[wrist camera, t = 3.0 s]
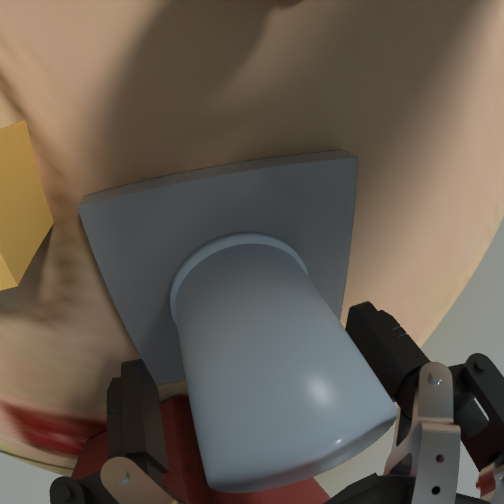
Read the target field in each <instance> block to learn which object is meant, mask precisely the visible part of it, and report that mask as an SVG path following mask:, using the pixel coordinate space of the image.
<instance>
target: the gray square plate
mask: <svg viewBox="0 0 504 504" xmlns="http://www.w3.org/2000/svg"><path fill="white" fill-rule="evenodd" d="M356 176H357V157H356V156H354V155H351V154H349V153H347V152H345V151H343V150H340V151H328V152H317V153H308V154H299V155H290V156H282V157H274V158H266V159H259V160H252V161H245V162H239V163H233V164H227V165H221V166H215V167H209V168H204V169H198V170H193V171H188V172H183V173H178V174H173V175H168V176H163V177H159V178H154V179H150V180H145V181H141V182H136V183H132V184H128V185H124V186H120V187H116V188H112V189H108V190H104V191H101V192H97V193H93V194H89V195H86V196H84V197H83V199H82V201H81V202H80V204H79V206H78V207H77V208H78V211H79V214H80V217H81V220H82V223H83V226H84V229H85V232H86V235H87V238H88V240H89V243H90V246H91V249H92V251H93V254H94V256H95V259H96V262H97V264H98V267H99V269H100V272H101V274H102V276H103V279H104V281H105V284H106V286H107V288H108V291H109V293H110V295H111V297H112V300H113V302H114V304H115V306H116V308H117V311H118V313H119V315H120V317H121V319H122V321H123V323H124V325H125V327H126V329H127V331H128V333H129V335H130V337H131V339H132V341H133V343H134V345H135V347H136V349H137V351H138V353H139V355H140V357H141V358H142V360H143V361H144V363H145V365H146V367H147V369H148V371H149V372H150V374H151V376H152V378H153V380H154V382H155V383H156V385H162V384H167V383H172V382H178V381H183V380H186V378H185V372H184V366H183V360H182V353H181V347H180V340H179V333H178V327H177V326H176V324H175V322H174V320H173V317H172V313H171V306H170V287H171V283H172V280H173V277H174V275H175V273H176V271H177V270H178V268H179V266H180V265H181V264H182V262H183V261H184V260H185V259H186V258H187V257H188V256H189V255H190V254H191V253H192V252H193V251H194V250H196V249H197V248H199V247H200V246H201V245H203V244H205V243H207V242H209V241H210V240H212V239H215V238H217V237H220V236H223V235H227V234H230V233H236V232H248V231H253V232H262V233H266V234H270V235H273V236H275V237H278V238H280V239H282V240H283V241H285V242H286V243H288V244H289V245H290V246H291V247H292V248H293V249H294V250H295V251H296V253H297V254H298V255H299V257H300V258H301V259H302V261H303V262H304V264H305V266H306V269H307V271H308V276H309V279H310V280H311V282H312V283H313V284H314V286H315V287H316V289H317V290H318V291H319V293H320V294H321V296H322V297H323V299H324V300H325V302H326V303H327V304H328V306H329V307H330V309H331V310H332V312H333V313H334V314H335V316H336V317H337V319H338V320H339V322H340V316H341V310H342V304H343V297H344V291H345V284H346V277H347V269H348V262H349V254H350V245H351V236H352V226H353V216H354V204H355V191H356Z"/></svg>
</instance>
